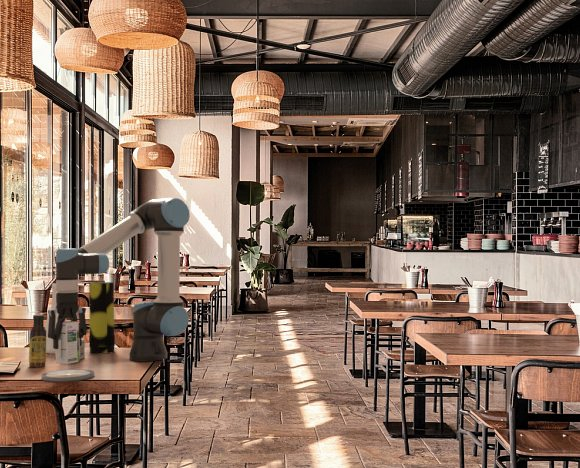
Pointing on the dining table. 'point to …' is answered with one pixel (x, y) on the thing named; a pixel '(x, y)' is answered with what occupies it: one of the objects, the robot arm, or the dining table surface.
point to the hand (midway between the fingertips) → (67, 356)
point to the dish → (67, 375)
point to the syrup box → (69, 342)
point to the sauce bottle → (37, 343)
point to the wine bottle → (48, 340)
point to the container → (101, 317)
